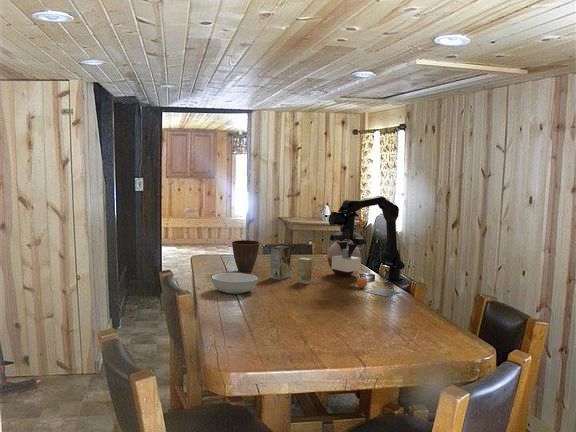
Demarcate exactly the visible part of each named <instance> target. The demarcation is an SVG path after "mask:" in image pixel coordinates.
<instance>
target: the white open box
mask: <svg viewBox="0 0 576 432" xmlns="http://www.w3.org/2000/svg"><path fill="white" fill-rule="evenodd" d="M348 254H349V249H342V255H341V256H332V266H331V268H330V269H331V270H332V269H335V270H340V271H345V272H351V271H354V272H357V271H361V267H362V265H361V264H362V258H361V257H360V258H358V257H353V256H351V257H349V255H348Z"/></svg>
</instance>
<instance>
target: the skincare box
mask: <svg viewBox="0 0 576 432" xmlns="http://www.w3.org/2000/svg"><path fill="white" fill-rule="evenodd" d="M312 271H313V258H309V257H300V258H297V273H296V283H298V284H305V285H309V284H311V283H312Z"/></svg>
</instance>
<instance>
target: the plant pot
mask: <svg viewBox="0 0 576 432" xmlns="http://www.w3.org/2000/svg"><path fill="white" fill-rule="evenodd" d="M231 245H232V246H231V247H232V253H233V258H234V262H235V266H236V269H237V272H238V273H245V274H249V273H251V272H253V270H254V267H255V264H256V262H257V257H258V254H259V250H260V242H259V241H257V240H247V239H246V240H245V239H240V240H239V239H237V240H233V241H231Z"/></svg>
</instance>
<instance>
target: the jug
mask: <svg viewBox="0 0 576 432" xmlns="http://www.w3.org/2000/svg"><path fill="white" fill-rule="evenodd" d="M341 227H343V225H338V228H339V231H340V230H341ZM354 236H355V237H357V238H363V236H362V235H361V234H359V233H358V232H356V231H354ZM336 242H337V241H336V240H335V241H334V243H333V244H331V246H330V247H329V248H328V250H327V252H326V257H327V262H328V265H329V268H330V269H331V266H332V256H341V255H342V251H341V248H340V245H339V244H338V243H336ZM345 242H347V248H346V249H349V246H348V244H350V242H349V241H345ZM364 248H365V244H363V245H361V246H360V247H358V246H357V247H356V248H355V250H354V251H353V253H352V255H351V256H353V257H358V258H361V256H362V255H361V251H363V250H364ZM331 271H332V272H333V274H334V275H335V276H337V277H341V278H343V277H351V276H352V275H353V274H354V272H355V271H351V272H345V271H340V270H335V269H331Z"/></svg>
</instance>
